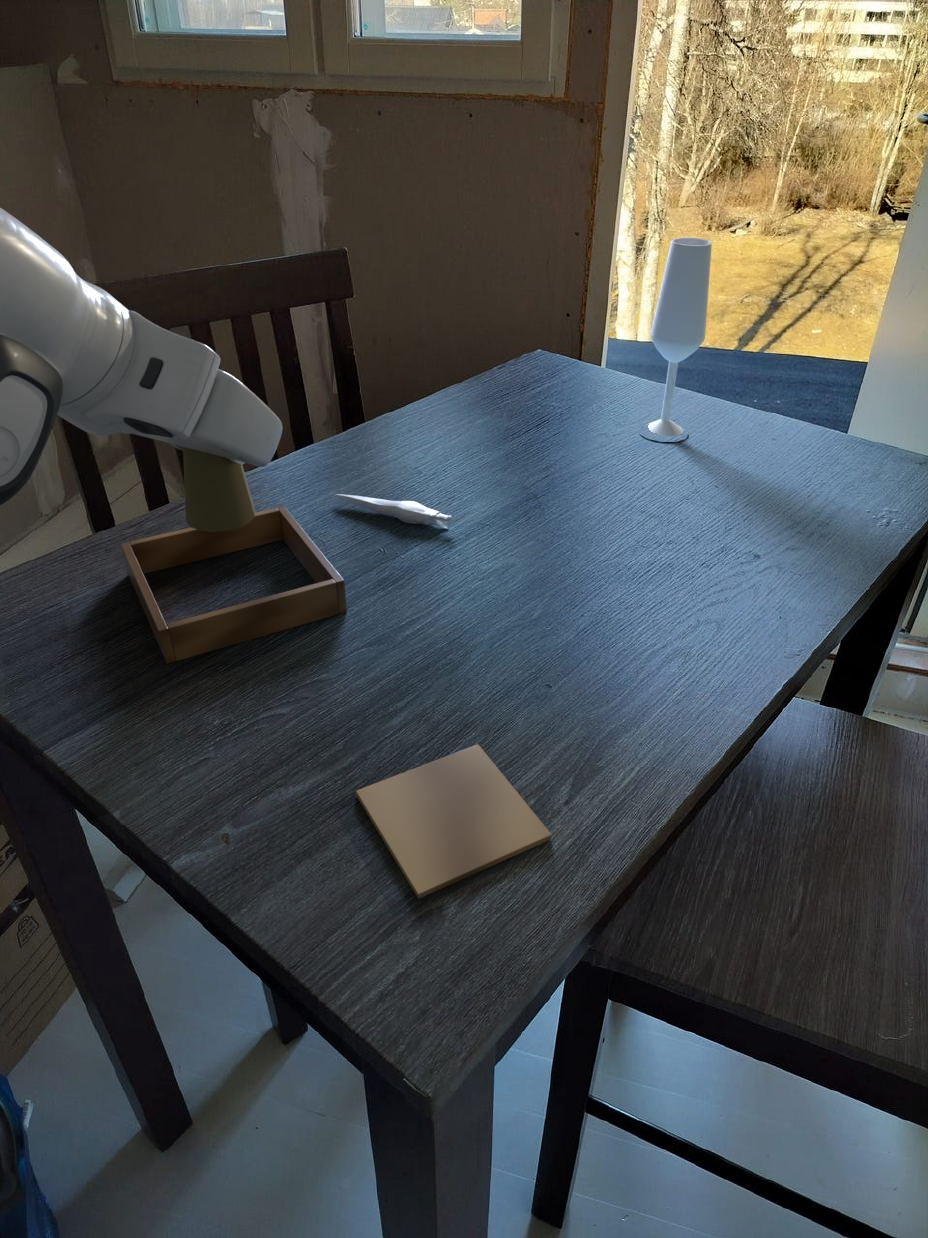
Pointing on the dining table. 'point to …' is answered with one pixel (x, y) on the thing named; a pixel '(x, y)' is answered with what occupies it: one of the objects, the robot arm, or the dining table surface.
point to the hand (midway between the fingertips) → (216, 449)
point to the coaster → (451, 819)
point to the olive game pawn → (215, 493)
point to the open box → (241, 618)
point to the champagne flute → (680, 315)
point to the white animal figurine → (400, 510)
